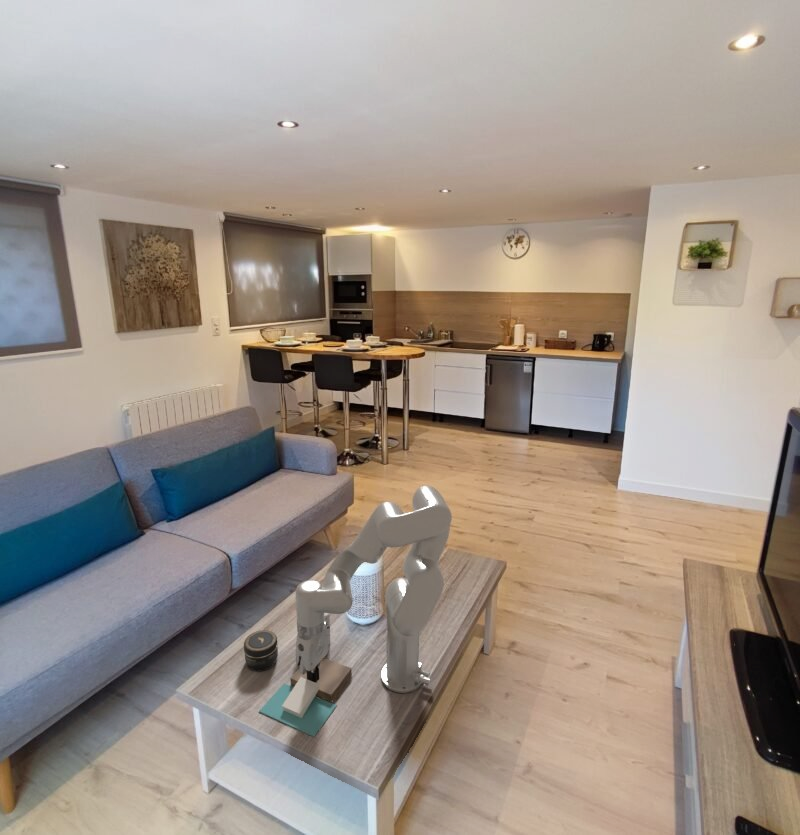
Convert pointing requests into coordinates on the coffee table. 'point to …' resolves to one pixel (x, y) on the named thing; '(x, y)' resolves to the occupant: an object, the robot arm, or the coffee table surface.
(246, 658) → the jar
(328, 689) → the brown flat block
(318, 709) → the mat
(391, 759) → the coffee table surface
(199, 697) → the coffee table surface
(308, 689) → the white rubber eraser
